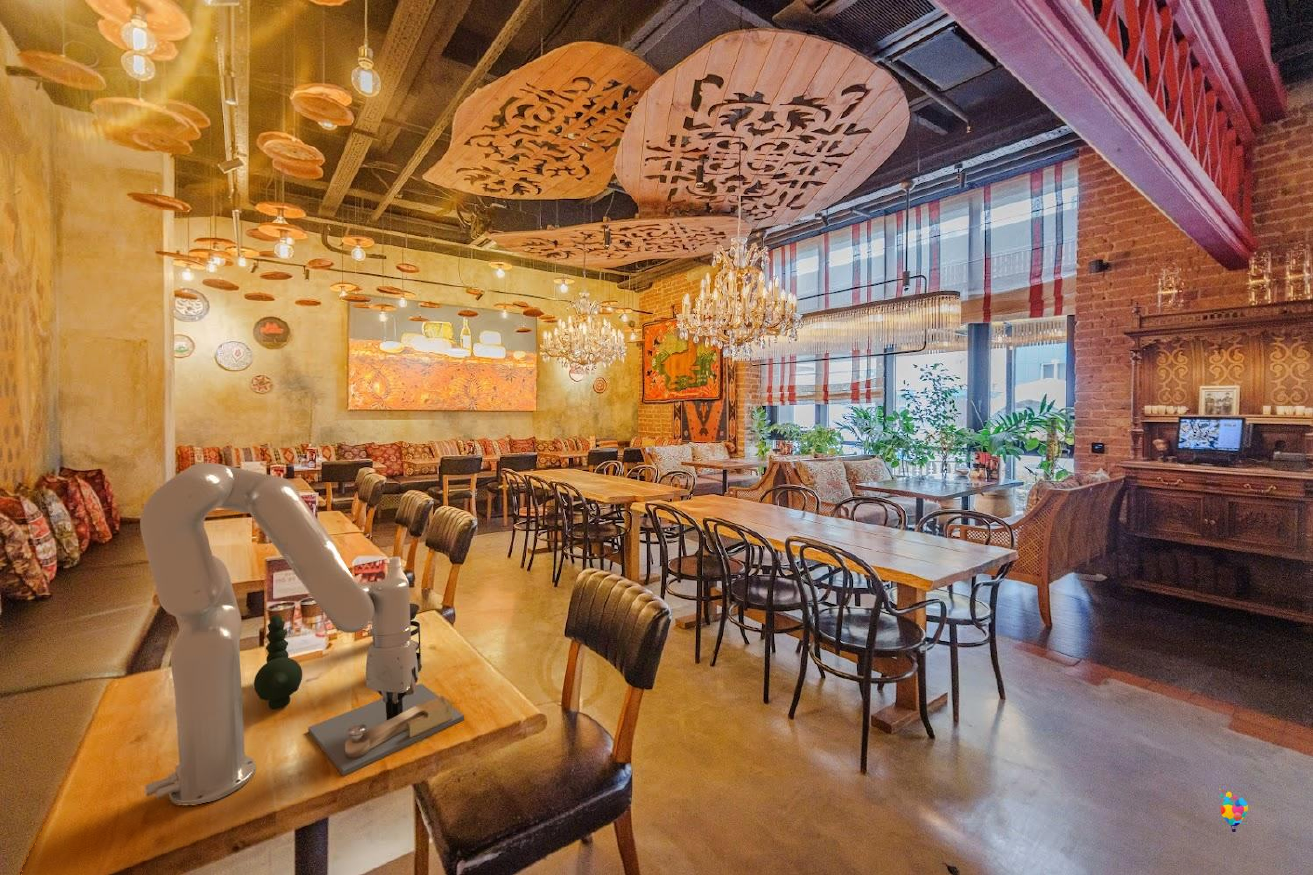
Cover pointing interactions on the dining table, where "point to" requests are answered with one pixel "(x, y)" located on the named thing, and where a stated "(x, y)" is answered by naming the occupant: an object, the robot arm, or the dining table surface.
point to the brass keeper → (430, 716)
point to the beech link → (381, 733)
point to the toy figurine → (277, 669)
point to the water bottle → (395, 569)
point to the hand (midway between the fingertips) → (394, 716)
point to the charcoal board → (373, 714)
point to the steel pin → (357, 732)
